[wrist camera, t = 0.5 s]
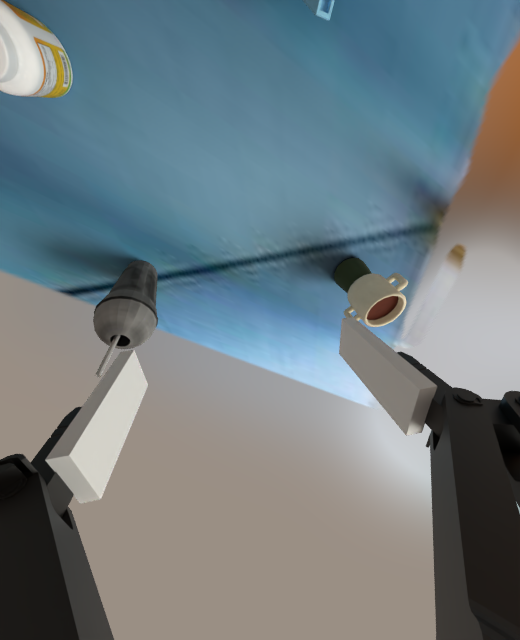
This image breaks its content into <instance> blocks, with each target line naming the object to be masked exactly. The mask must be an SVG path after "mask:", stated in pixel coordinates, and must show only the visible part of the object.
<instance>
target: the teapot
mask: <svg viewBox="0 0 520 640" xmlns="http://www.w3.org/2000/svg"><path fill="white" fill-rule="evenodd" d="M303 1H304V3H305V4H306V5H307V6H308V7H309V9H310V10H311V11H312V12H313V13H314V15H316V16H318V17H320V18H323V19H325V20H327V21H329V20H330V16H331V12H332V8H333V4H334V0H303Z"/></svg>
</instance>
